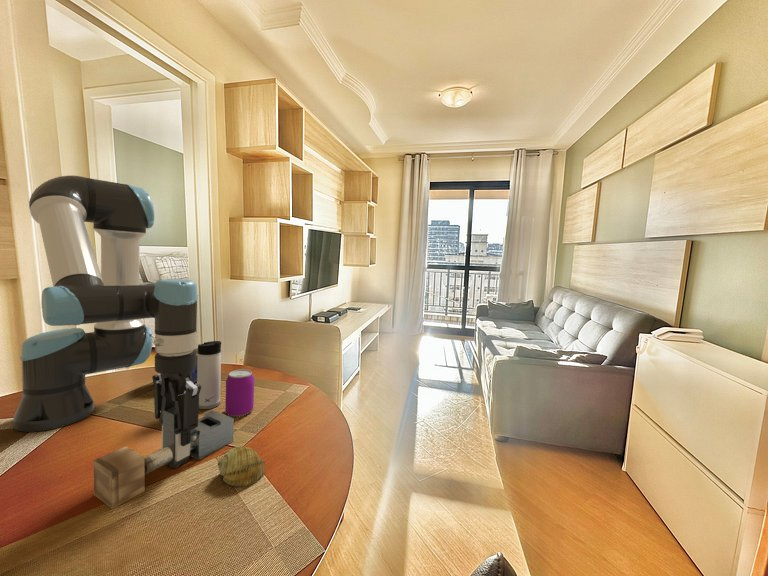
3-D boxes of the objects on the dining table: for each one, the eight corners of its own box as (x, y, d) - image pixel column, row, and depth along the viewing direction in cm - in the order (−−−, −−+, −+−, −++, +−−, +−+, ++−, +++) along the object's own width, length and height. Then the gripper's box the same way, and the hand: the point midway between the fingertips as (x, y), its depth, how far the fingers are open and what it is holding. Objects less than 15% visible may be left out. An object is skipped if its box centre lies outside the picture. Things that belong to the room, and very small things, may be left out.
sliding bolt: (208, 439, 79) (208, 393, 78) (218, 444, 77) (219, 397, 76) (137, 475, 65) (137, 419, 64) (148, 482, 63) (148, 425, 62)
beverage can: (227, 407, 97) (228, 369, 96) (254, 404, 99) (255, 367, 98) (223, 419, 90) (223, 378, 89) (252, 416, 92) (253, 376, 91)
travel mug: (211, 411, 94) (212, 345, 92) (192, 407, 95) (192, 342, 93) (225, 402, 100) (226, 340, 98) (207, 399, 101) (208, 337, 99)
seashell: (259, 486, 71) (259, 447, 75) (271, 480, 66) (270, 439, 71) (211, 495, 65) (214, 452, 69) (221, 489, 60) (223, 444, 65)
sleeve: (216, 433, 82) (216, 408, 82) (233, 441, 80) (233, 415, 79) (181, 451, 74) (181, 423, 74) (198, 460, 72) (199, 431, 71)
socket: (126, 478, 65) (126, 446, 64) (144, 490, 62) (144, 456, 61) (94, 495, 60) (93, 460, 59) (112, 508, 57) (111, 472, 56)
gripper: (134, 348, 68) (134, 450, 70) (183, 363, 61) (182, 477, 63) (170, 341, 75) (170, 434, 77) (218, 354, 68) (217, 457, 70)
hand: (175, 454), depth 70 cm, fingers closed on sliding bolt, 4 cm apart
